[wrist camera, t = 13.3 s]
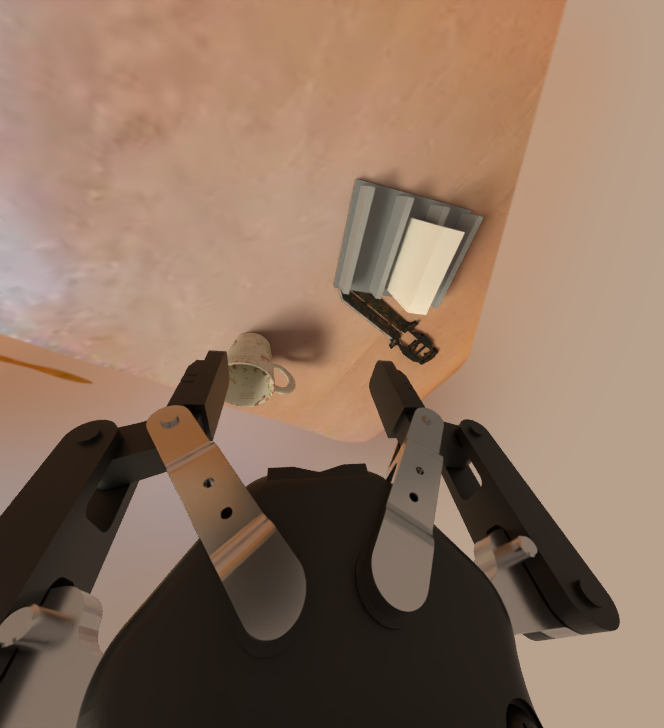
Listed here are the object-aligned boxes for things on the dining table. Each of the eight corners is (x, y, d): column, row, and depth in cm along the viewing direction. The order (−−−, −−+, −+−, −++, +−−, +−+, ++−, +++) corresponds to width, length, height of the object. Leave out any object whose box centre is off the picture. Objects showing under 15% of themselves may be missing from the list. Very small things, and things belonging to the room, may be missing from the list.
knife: (329, 288, 36) (330, 291, 35) (360, 255, 34) (362, 258, 33) (412, 368, 49) (415, 372, 48) (439, 348, 47) (442, 352, 46)
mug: (238, 317, 37) (224, 353, 29) (307, 349, 42) (311, 387, 34) (219, 355, 40) (202, 396, 32) (285, 380, 46) (284, 420, 38)
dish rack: (333, 285, 36) (338, 296, 32) (355, 179, 28) (364, 178, 25) (426, 300, 40) (440, 311, 36) (467, 210, 32) (490, 213, 28)
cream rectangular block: (381, 284, 36) (407, 312, 28) (403, 215, 30) (443, 227, 23) (396, 286, 36) (425, 314, 28) (420, 220, 31) (464, 232, 23)
